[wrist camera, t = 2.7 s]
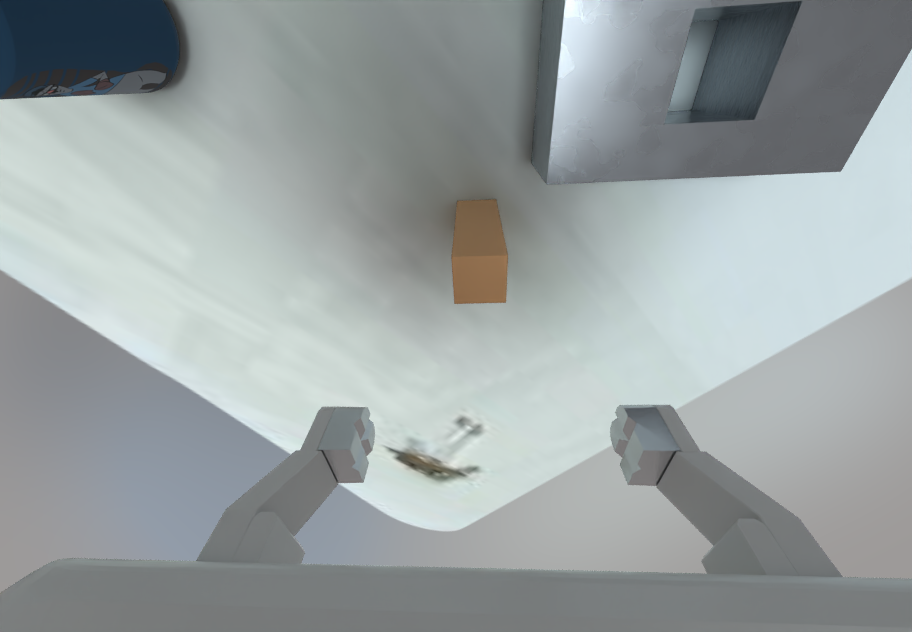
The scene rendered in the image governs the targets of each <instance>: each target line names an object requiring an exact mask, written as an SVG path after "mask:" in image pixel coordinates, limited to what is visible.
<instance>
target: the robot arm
mask: <svg viewBox="0 0 912 632" xmlns="http://www.w3.org/2000/svg"><path fill="white" fill-rule="evenodd" d="M615 413H616V416H617V419H615V420H614V421H612V424H611V428H610V437H611V441H612V445H613V447H614V450H615V452H616V453H618V454H619V455H620V456H621V457H622V460H621V463H620V466H621V469H622V471H623V474H624V476H625V479H626V481H627V484H628V485H648V486H657V488H658V489H659V490H660V491H661V492H662V493H663V494H664V496H665V497H667V499H669V501H670V502H671V503H672V504H673V505H674V506H675V507H676V508H677V509H678V510H679V511H680V512H681V513H682V514H683V515H684V516H685V517H686V518H687V519H688V520H689V521H690V522H691V523H692V524H693V525H694V526H695V527H696V528H697V529H698V530H699V531H700V532H701V533H702V534H703V535H704V536H705V537H706V538H707V539H708V540H709V541H710V543H712V544H713V547H712V548H711V549H710V550H709V551H708V553H707V554H706V555H705V556H704V557H703V559H702V563H703V566H704V568H705V570H706V572H707V574H699V573H658V572H618V571H616V572H615V571H574V570H572V571H571V570H535V569H496V568H455V567H453V568H452V567H414V566H373V565H372V566H371V565H331V564H301V563H302V560H303V556H304V554H305V552H304V549H303V548H302V546H301V545H300V544H299V542H298V541H297V540H296V538H295V537H294V536H295V535H296V534H297V533H298V531H299V530H300V529H301V528H302V527H303V525H304V524H305V523H306V522H307V521H308V520H309V518H310V517H311V516H312V515H313V514H314V512H315V511H316V510H317V509H318V508H319V507H320V505H321V504H322V503H323V502H324V501H325V499H326V498H327V497H328V496H329V494H330V493H331V492H332V491H333V490H334V489H335V488H336V486H337V485H338V483H363V482H364V479H365V475H366V471H367V468H368V464H369V462H368V459H367V457H366V456H367V455H368V454H369V453H370V452H371V451H372V449H373V445H374V438H375V429H374V424H373V422H372V421H370V420H369V416H370V412H369V409H368V407H322V408H321V409H320V410H319V411H318V413H317V415H316V417H315V420H314V422H313V424H312V426H311V428H310V430H309V433H308V435H307V437H306V439H305V441H304V443H303V445H302V448H301V450H298V451H295V452H293V453H292V454H291V455H290V456H289V457H288V458H286V459H285V460H284V461H283V462H282V463H280V464H279V465H278V466H277V467H276V468H274V469H273V470H272V471H271V472H270V473H268V474H267V475H266V476H265V477H264V478H263V479H261V480H260V481H259V482H258V483H257V484H255V485H254V486H253V487H252V488H251V489H249V490H248V491H247V492H246V493H245V494H243V495H242V496H241V497H240V498H239V499H238V500H236V501H235V502H234V503H233V504H232V505H230V506H229V507H228V508H227V509H226V510H225V512H224V513H223V515H222V517H221V519H220V520H219V522H218V524H217V525H216V527H215V529H214V531H213V532H212V534H211V536H210V538H209V539H208V541H207V543H206V545H205V546H204V548H203V550H202V551H201V553H200V555H199V557H198V559H197V560H196V561H165V560H122V559H86V558H67V559H59V560H56V561H53V562H50V563H48V564H46V565H44V566H43V567H41V568H39V569H37V570H36V571H34V572H32V573H30V574H29V575H27V576H26V577H24V578H22V579H21V580H19V581H18V582H16V583H15V584H13V585H12V586H10V587H8V588H7V589H5V590H4V591H2V592H1V593H0V632H912V579H901V578H861V577H860V578H858V577H843V576H842V575H841V574H840V572H839V571H838V570H837V568H836V567H835V566H834V564H833V563H832V562H831V560H830V559H829V558H828V556H827V555H826V554H825V552H824V551H823V550H822V548H821V547H820V546H819V544H818V543H817V541H816V540H815V539H814V537H813V536H812V535H811V533H810V532H809V531H808V530H807V528H806V527H805V526H804V524H803V523H802V521H801V520H800V519H799V518H798V517H797V516H795V515H794V514H793V513H791V512H790V511H788V510H787V509H785V508H784V507H783V506H781V505H780V504H779V503H777V502H775V501H774V500H773V499H772V498H770V497H769V496H767V495H766V494H764V493H763V492H762V491H760V490H759V489H758V488H756V487H755V486H753V485H752V484H751V483H749V482H748V481H746V480H745V479H743V478H742V477H741V476H739V475H738V474H736V473H735V472H733V471H732V470H731V469H729V468H728V467H727V466H725V465H724V464H722V463H721V462H720V461H718V460H717V459H715V458H714V457H712V456H711V455H710V454H708V453H707V452H701V451H700V450H699V448H698V446H697V445H696V443H695V442H694V440H693V439H692V437H691V435H690V434H689V432H688V431H687V429H686V427H685V426H684V424H683V422H682V421H681V419H680V418H679V416H678V414H677V413H676V411H675V410H674V408H673V407H672V406H670V405H620V406H618V407H617V409H616V412H615Z"/></svg>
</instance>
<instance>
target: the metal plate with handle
mask: <svg viewBox="0 0 912 632" xmlns="http://www.w3.org/2000/svg"><path fill="white" fill-rule="evenodd" d="M712 20H719V22H718V26H717V29H716V32H715V36H714V39H713V42H712V45H711V49H710V52H709V55H708V58H707V62H706V65H705V68H704V72H703V75H702V78H701V81H700V85H699V88H698V91H697V95H696V98H695V101H694V104H693V108H692V110H690V111H672V112H668V108H669V104H670V101H671V97H672V93H673V90H674V86H675V82H676V78H677V75H678V71H679V67H680V64H681V60H682V56H683V52H684V49H685V45H686V41H687V38H688V34H689V30H690V27H691V23H692V22H698V21H712ZM911 49H912V0H543V11H542V24H541V38H540V52H539V65H538V79H537V92H536V106H535V120H534V133H533V147H532V161H531V163H532V165H533V166H534V167H535V169H536V170H537V171H538V173H539V174H540V176H541V177H542V178H543V180H544V181H545V183H546V184H567V183H590V182H613V181H635V180H658V179H681V178H704V177H727V176H749V175H772V174H795V173H818V172H841V170H842V169H843V167H844V165H845V163H846V162H847V160H848V158H849V156H850V155H851V153H852V151H853V150H854V148H855V146H856V144H857V143H858V141H859V139H860V137H861V136H862V134H863V132H864V130H865V129H866V127H867V125H868V124H869V122H870V120H871V118H872V117H873V115H874V113H875V111H876V110H877V108H878V106H879V105H880V103H881V101H882V99H883V98H884V96H885V94H886V92H887V91H888V89H889V87H890V86H891V84H892V82H893V80H894V79H895V77H896V75H897V73H898V72H899V70H900V68H901V66H902V65H903V63H904V61H905V60H906V58H907V56H908V54H909V53H910V51H911Z"/></svg>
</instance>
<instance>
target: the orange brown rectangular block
mask: <svg viewBox="0 0 912 632" xmlns="http://www.w3.org/2000/svg"><path fill="white" fill-rule="evenodd" d="M507 266H508V253H507V248H506V244H505V239H504V234H503V230H502V225H501V220H500V215H499V211H498V206H497V201H496V199H490V200H466V201H457V209H456V218H455V228H454V238H453V247H452V272H453V288H454V303H455V304H465V303H506V289H507Z"/></svg>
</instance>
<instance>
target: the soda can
mask: <svg viewBox="0 0 912 632" xmlns="http://www.w3.org/2000/svg"><path fill="white" fill-rule="evenodd" d="M179 55H180V43H179V37H178V33H177V29H176V26H175V23H174V21H173V18H172V16H171V14H170V12H169V10H168V8H167V7H166V5H165V3H164V2H163V0H0V99H18V98H41V97H63V96H86V95H108V94H131V93H149V92H154V91H157V90H159V89H161V88H163V87H164V86H165V85H166V84H168V82H169V81H170V80H171V79H172V77H173V75H174V73H175V71H176V68H177V65H178V61H179Z"/></svg>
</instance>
